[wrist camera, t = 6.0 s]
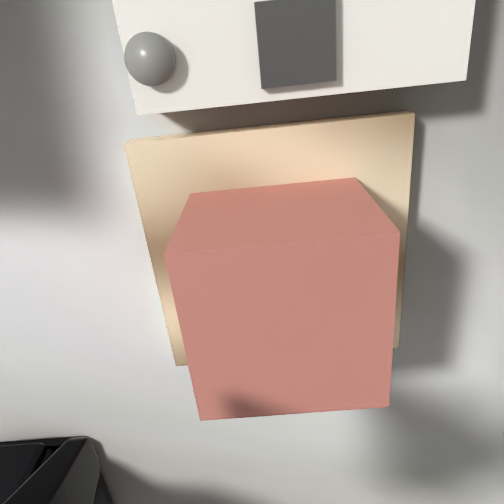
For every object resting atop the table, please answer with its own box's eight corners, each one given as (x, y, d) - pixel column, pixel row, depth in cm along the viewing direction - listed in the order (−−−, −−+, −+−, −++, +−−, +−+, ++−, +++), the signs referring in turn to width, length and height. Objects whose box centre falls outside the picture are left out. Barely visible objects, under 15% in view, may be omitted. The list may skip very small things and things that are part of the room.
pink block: (353, 314, 17) (389, 406, 13) (213, 326, 18) (200, 420, 13) (355, 177, 15) (400, 232, 10) (190, 193, 15) (163, 253, 10)
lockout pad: (392, 337, 19) (398, 348, 18) (178, 354, 19) (176, 366, 19) (407, 110, 14) (415, 113, 14) (129, 139, 15) (123, 144, 14)
